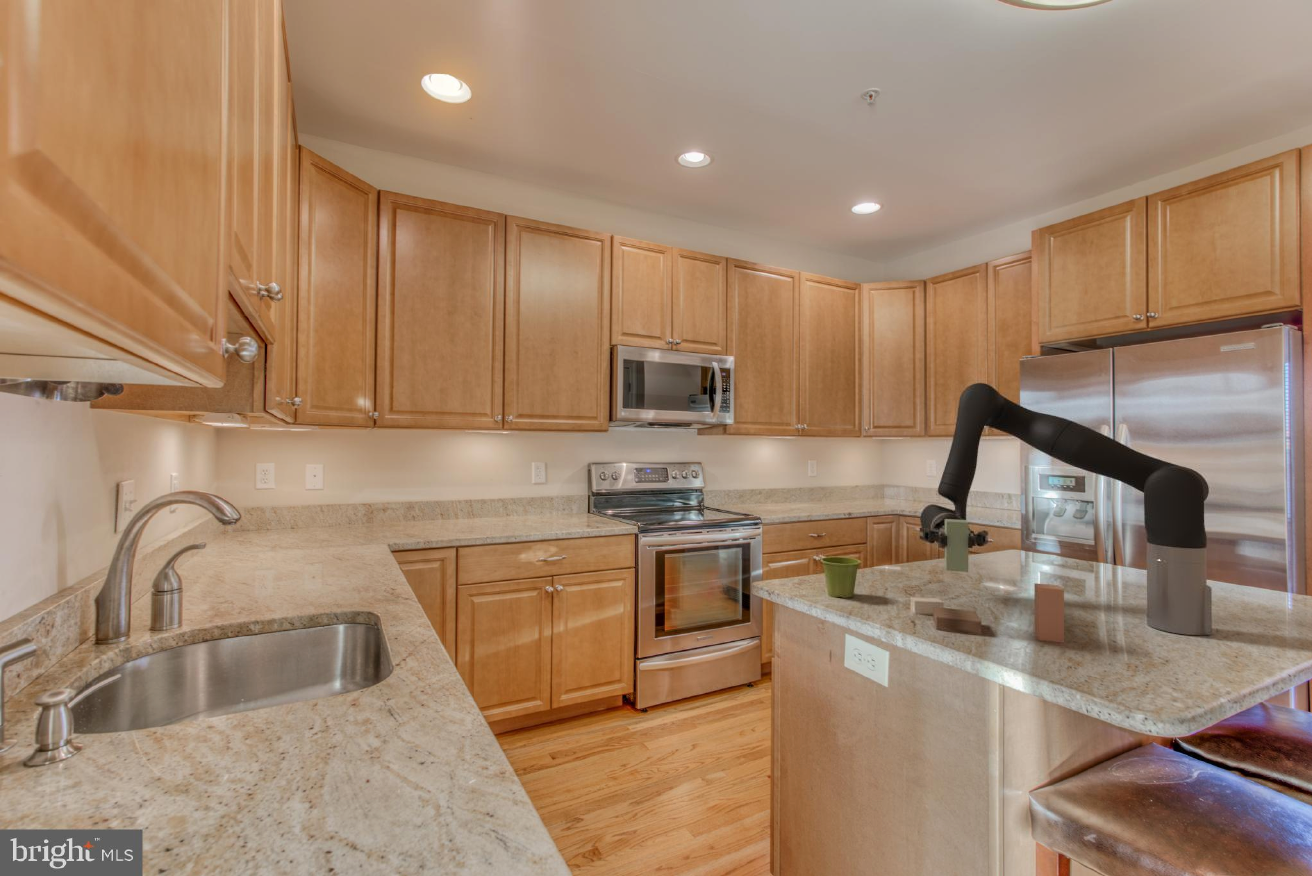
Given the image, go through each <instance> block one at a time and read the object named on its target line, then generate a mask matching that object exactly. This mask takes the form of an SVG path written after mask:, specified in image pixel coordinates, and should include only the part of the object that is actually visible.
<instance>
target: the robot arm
mask: <svg viewBox="0 0 1312 876" xmlns="http://www.w3.org/2000/svg"><path fill="white" fill-rule="evenodd" d="M957 407H958V408H957V414H956V423H955V428H954V434H953V437H952V442H951V446H950V449H949V452H948V453H949V454H948V457H947V460H946V463H945V466H944V469H943V473H942V475H941V478H940V480H939V485H938V487H937V494H938V495H939V496H941V497H942V498H944V499H947V500H948V501H950V502H951V503H953V505H954V509H952V508H947V507H945V506H941V505H938V504H929V505H926V506H925V507H924V508H923V510H922V512H921V513H920V516H919V517H920V518H919V521H920V525H921V527H919V540H921V541H924V542H927V543H930V544H934V543H935V542H936V543H937V544H938V545H939V546H940V547H942V548H943V549H945V546H947V535H946V534H945V519H954V520H967V505H968V499H969V494H970V490H971V488H972V485H973V482H974V478H975V475H976V470H977V465H978V464H977V463H978V456H979V455H978V454H979V446H980V440H981V438H982V434H983V431H984V428H985V427H989V428H991V429H994V430H998V431H1000V432H1003V433H1006V434H1009V435H1010V436H1013V437H1015V438H1017V439H1019V440H1021V441H1022V442H1024V443H1025V444H1027V445H1029V446H1031V447H1032V448H1034V449H1036V450H1038V451H1039V452H1042V453H1044V454H1045V455H1047V456H1049V457H1052V458H1053V459H1055V460H1058V461H1060V462H1063V463H1064V464H1067V465H1069V466H1072V467H1075V468H1077V469H1081V470H1083V471H1085V472H1088V473H1093V474H1096V475H1099V476H1102V477H1107V478H1110V479H1114V480H1117V481H1118V482H1121V483H1124V484H1126V485H1127V486H1130V487H1131V488H1134V489H1135V490H1138V491H1139V492H1141V493H1143V513H1144V514H1143V515H1144V529H1145V533H1146V625H1148V626H1149V627H1151V628H1154V629H1156V630H1159V631H1164V632H1169V633H1173V634H1174V633H1175V634H1179V635H1189V636H1204V635H1206V636H1207V635H1208V636H1212V635H1213V634H1212V632H1213V631H1212V627H1213V626H1212V622H1213V621H1212V618H1213V617H1212V615H1213V614H1212V613H1213V612H1212V597H1213V596H1212V594H1213V593H1212V587H1211V586H1210V585H1208V584H1207V545H1208V544H1207V538H1208V537H1207V534H1206V527H1205V501H1207V498H1208V497H1209V492H1210V490H1209V489H1210V487H1209V484H1208V481H1206V478H1205V477H1203V475H1202V474H1201V473H1200V472H1198V471H1196V470H1194V469H1192V468H1189V467H1186V466H1183V465H1182V466H1181V465H1179V464H1175V463H1172V462H1169V461H1166V460H1162V459H1159V458H1156V457H1153V456H1150V455H1147V454H1145V453H1141V452H1140V451H1138V450H1134V449H1133V448H1130V447H1129V446H1127V445H1125V444H1123V443H1122V442H1119V441H1117V440H1116V439H1114V438H1111V437H1109V436H1108V435H1105V434H1103V433H1100V432H1099V431H1097V430H1094V429H1092V428H1090V427H1089V426H1088V427H1087V426H1086V425H1085V426H1084V425H1082V424H1081V423H1078V422H1076V421H1074V420H1073V421H1072V420H1070V419H1067V418H1064V417H1060V416H1056V415H1053V414H1048V413H1043V412H1039V411H1035V410H1031V409H1028V408H1026V407H1024V406H1022V405H1020V404H1018V403H1015V402H1014V401H1012V400H1010V399H1008V398H1007V397H1005V396H1003V395H1002V394H1001V393H1000V392H999V391H998V390H996V389H995V388H994V387H993V386H991V385H989V384H987V383H985V382H978V383H977V382H976V383H973V384H971V385H969V386H967V387H966V388H965V389H964V390H962V393H961V394H960V397H959V401H958V406H957ZM987 544H989V531H988V530H981V531H980V530H979V531H978V532H977V533H975V532H974V530H971V529H970V527H969V537H968V549H973V547H976V546H978V547H983V546H985V545H987Z"/></svg>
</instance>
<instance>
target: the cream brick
mask: <svg viewBox="0 0 1312 876" xmlns="http://www.w3.org/2000/svg"><path fill="white" fill-rule="evenodd" d="M933 607H940V608H944V601H943V600H941V599H940V598H934V597H933V598H932V597H929V598H928V597H910V611H911V612H912V613H913V614H914V615H933Z"/></svg>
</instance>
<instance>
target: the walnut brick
mask: <svg viewBox="0 0 1312 876" xmlns="http://www.w3.org/2000/svg"><path fill="white" fill-rule="evenodd" d="M932 618H933V623H934V626H935V630H936V631H942V632H950V633H951V632H952V633H959V632H964V633H963V634H968V633H970V635H977V634H980V635H979V636H982V621H981V619H980V617H979V615H978V613H977V611H976V610H969V609H968V610H967V609H960V608H959V609H957V608H948V607H943V608H940V607H933V617H932Z"/></svg>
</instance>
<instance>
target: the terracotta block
mask: <svg viewBox="0 0 1312 876" xmlns="http://www.w3.org/2000/svg"><path fill="white" fill-rule="evenodd" d="M1033 589H1034V596H1033V597H1034V605H1033V606H1034V610H1033V611H1034V615H1033V616H1034V618H1033V619H1034V623H1033V624H1034V627H1033V628H1034V629H1033V631H1034V635H1035V637H1037V639H1038V640H1039V641H1047V642H1055V643H1065V626H1064V625H1065V605H1064V604H1065V590H1064V589H1063V588H1062V587H1061V586H1060V585H1059V584H1046V583H1036V582H1035V583H1034V588H1033Z"/></svg>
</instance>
